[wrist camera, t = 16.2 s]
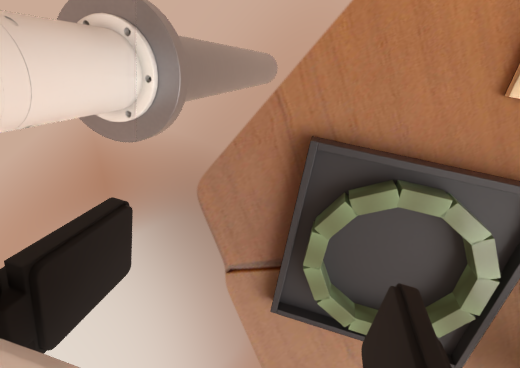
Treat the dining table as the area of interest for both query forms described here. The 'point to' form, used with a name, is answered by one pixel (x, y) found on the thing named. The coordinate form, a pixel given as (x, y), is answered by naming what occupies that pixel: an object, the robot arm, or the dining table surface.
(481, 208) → the tray
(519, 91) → the peg
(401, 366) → the robot arm
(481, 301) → the green ring
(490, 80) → the dining table surface
